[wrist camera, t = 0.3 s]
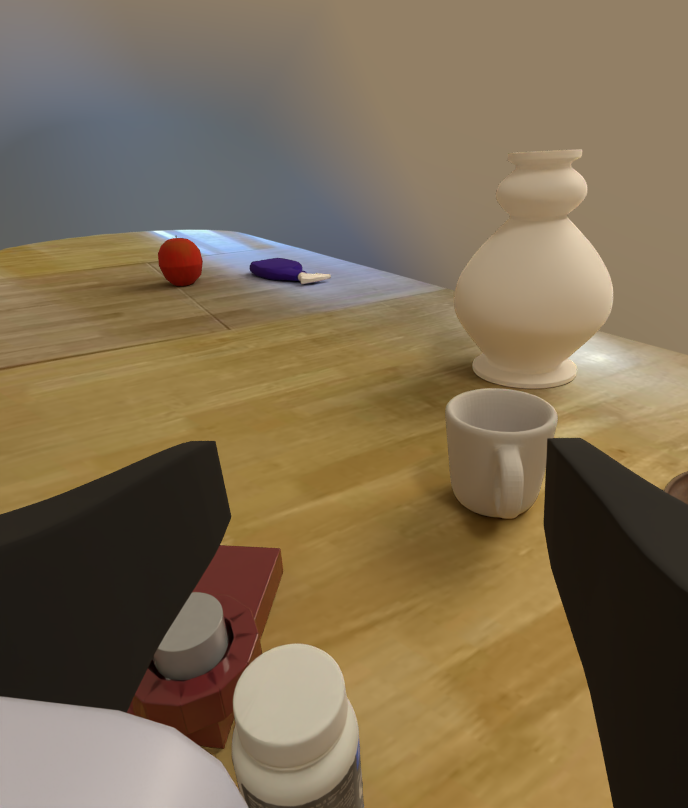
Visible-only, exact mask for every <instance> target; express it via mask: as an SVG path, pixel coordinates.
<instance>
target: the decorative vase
mask: <svg viewBox="0 0 688 808" xmlns="http://www.w3.org/2000/svg"><path fill="white" fill-rule="evenodd" d="M580 157H582V149H575V150H556V151H539V152H520V153H508V161H509V162H512V163H513V164H515V165H516V169H515V170H514V171H513V172H511V173H510V174H509V175H508V176H507V177H506V178H504V179H503V181H502V182H501V183H500V184H499V186H498V188H497V191H496V199H497V201H498V203H499V205H500V206H501V207H502V208H503V209H504V210H505V211H506V212H507V213H508V214H509V215H510V217H509V219H508V220H507V221H506V222H505V223H504V224H503V225H502V226H501V227H500V228H499V229H498V230H497V231H496V232H495V233H494V234H493V235H492V236H491V237H490V238H489V239H488V240H487V241H486V242H485V243H484V244H483V245H482V246H481V247H480V248H479V249H478V250H477V252H476V253H475V254H474V255H473V257H472V258H471V259H470V261H469V262H468V264H467V265H466V267H465V268H464V270H463V271H462V273H461V275H460V277H459V279H458V282H457V285H456V289H455V295H454V307H455V312H456V315H457V317H458V319H459V321H460V323H461V324H462V326H463V327H464V329H465V330H466V332H467V333H468V334H469V336H470V337H471V338H472V340H473V341H474V342H475V343H476V345H477V346H478V347H479V348H480V350H481V351H482V352H483V354H481V355H479V356H477V357H476V358H475V359H474V360H473V366H472V368H473V371H474V372H475V374H476V375H478V376H479V377H481V378H482V379H484V380H487V381H489V382H492V383H495V384H499V385H503V386H508V387H515V388H530V389H536V388H550V387H556V386H560V385H563V384H566V383H568V382H570V381H572V380H573V379H574V378H575V377H576V374H577V367H576V365H575V364H574V363H573V362H572V361H571V360H569V359H568V357H570V356H571V355H572V354H573V353H574V352H575V351H576V350H578V349H579V348H580V347H581V346H582V345H583V344H585V343H586V342H587V341H588V340H589V339H590V338H591V337H592V336H593V335H594V334H595V333H596V332H597V331H598V330H599V329H600V328H601V327H602V326H603V324H604V323H605V321H606V320H607V318H608V316H609V314H610V312H611V308H612V303H613V286H612V281H611V278H610V275H609V273H608V271H607V268H606V266H605V264H604V263H603V261H602V259H601V257H600V256H599V254H598V253H597V251H596V250H595V248H594V247H593V246H592V244H591V243H590V242H589V241H588V240H587V238H586V237H585V236H584V235H583V234H582V233H581V232H580V230H579V229H578V228H577V227H576V226H575V225H574V224H573V223H572V222H571V221H570V220H569V219H568V217H567V216H568V213H569V212H571V211H572V210H574V209H575V208H576V207H577V206H578V205H579V204H580V203H581V202H582V201H583V199H584V198H585V197H586V194H587V183H586V181H585V180H584V178H583V177H582V176H581V175H580V174H579V173H578V172H577V171H576V170H574V169H573V168H572V167H571V163H572V162H573V161H575V160H577V159H579V158H580Z"/></svg>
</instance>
